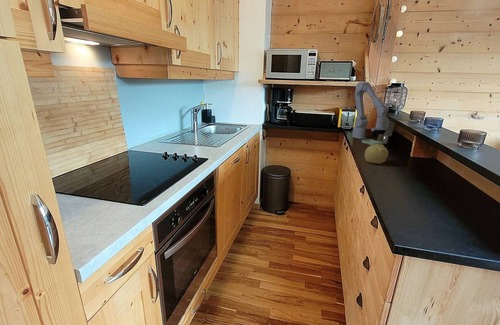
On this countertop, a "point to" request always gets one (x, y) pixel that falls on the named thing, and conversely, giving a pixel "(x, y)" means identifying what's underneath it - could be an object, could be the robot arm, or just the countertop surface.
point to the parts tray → (371, 142)
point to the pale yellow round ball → (376, 154)
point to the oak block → (379, 138)
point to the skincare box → (388, 127)
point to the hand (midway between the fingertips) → (377, 139)
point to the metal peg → (385, 139)
